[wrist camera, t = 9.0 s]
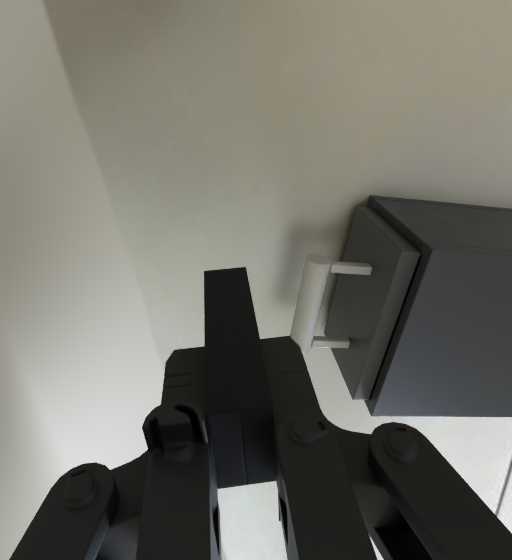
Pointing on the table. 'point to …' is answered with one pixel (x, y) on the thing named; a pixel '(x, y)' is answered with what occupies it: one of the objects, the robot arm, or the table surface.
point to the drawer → (358, 299)
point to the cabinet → (450, 314)
